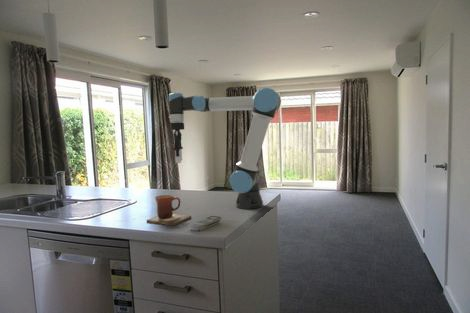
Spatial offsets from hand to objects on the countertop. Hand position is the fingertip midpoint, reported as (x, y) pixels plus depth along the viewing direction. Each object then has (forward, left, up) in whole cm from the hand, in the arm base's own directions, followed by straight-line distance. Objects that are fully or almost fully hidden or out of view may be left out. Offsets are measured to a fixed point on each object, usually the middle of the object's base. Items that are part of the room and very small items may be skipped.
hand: (179, 161), depth 180 cm
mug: (-7, +20, -25) cm, 33 cm away
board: (-7, +20, -27) cm, 34 cm away
